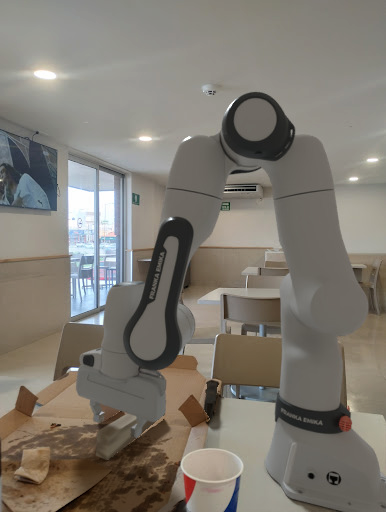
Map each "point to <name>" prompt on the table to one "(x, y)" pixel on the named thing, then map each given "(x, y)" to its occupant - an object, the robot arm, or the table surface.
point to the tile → (108, 411)
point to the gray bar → (117, 436)
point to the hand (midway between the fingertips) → (116, 428)
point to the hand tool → (210, 397)
